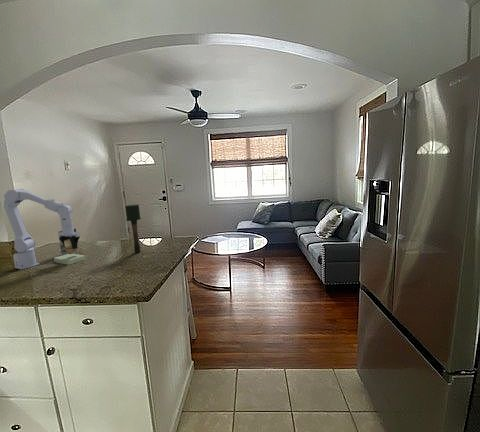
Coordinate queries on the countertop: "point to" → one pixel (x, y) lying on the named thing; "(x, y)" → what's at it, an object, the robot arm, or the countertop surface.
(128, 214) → the stick grenade
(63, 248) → the coffee box
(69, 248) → the peg
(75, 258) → the board
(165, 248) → the countertop surface
